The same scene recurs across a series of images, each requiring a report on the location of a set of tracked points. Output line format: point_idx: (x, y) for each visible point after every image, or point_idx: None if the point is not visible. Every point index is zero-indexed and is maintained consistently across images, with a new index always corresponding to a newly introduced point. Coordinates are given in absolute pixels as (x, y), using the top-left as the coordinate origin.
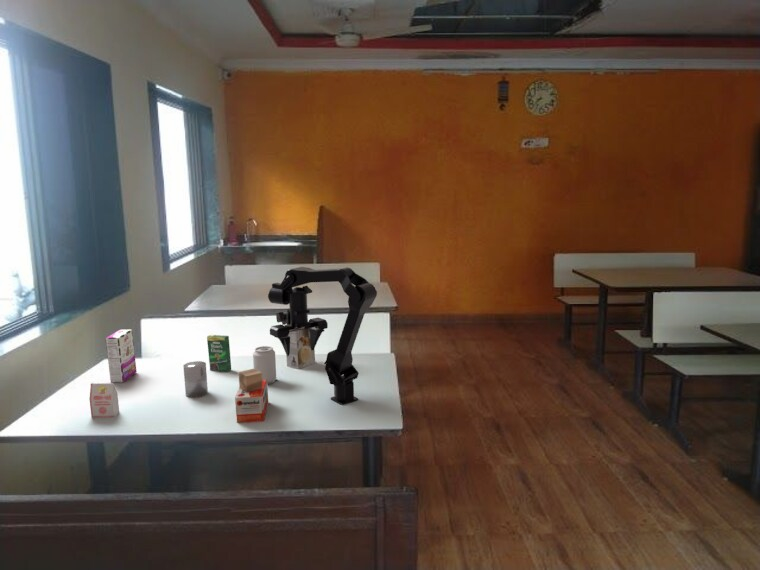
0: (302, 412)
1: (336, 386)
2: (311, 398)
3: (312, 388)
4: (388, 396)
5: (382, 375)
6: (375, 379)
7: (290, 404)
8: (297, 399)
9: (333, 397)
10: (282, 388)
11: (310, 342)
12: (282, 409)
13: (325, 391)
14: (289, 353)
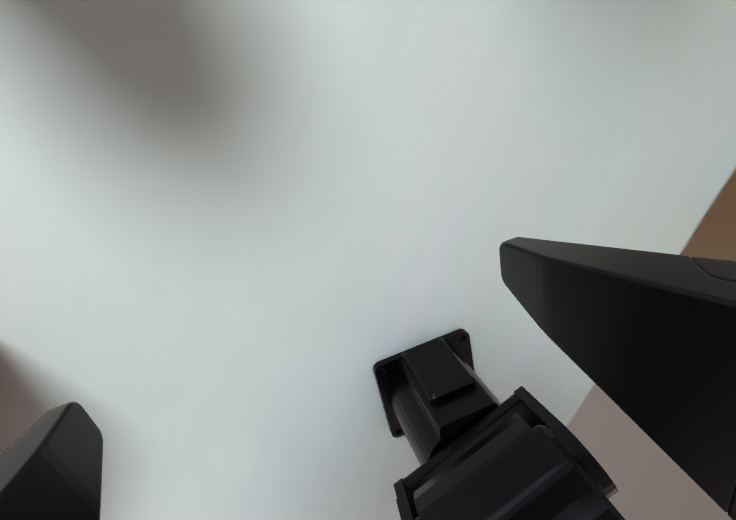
0: (194, 479)
1: (418, 460)
2: (283, 326)
3: (336, 168)
4: (581, 381)
5: (730, 125)
6: (672, 170)
7: (141, 381)
8: (197, 320)
9: (388, 370)
10: (107, 63)
11: (585, 276)
12: None
13: (390, 248)
14: (100, 480)
